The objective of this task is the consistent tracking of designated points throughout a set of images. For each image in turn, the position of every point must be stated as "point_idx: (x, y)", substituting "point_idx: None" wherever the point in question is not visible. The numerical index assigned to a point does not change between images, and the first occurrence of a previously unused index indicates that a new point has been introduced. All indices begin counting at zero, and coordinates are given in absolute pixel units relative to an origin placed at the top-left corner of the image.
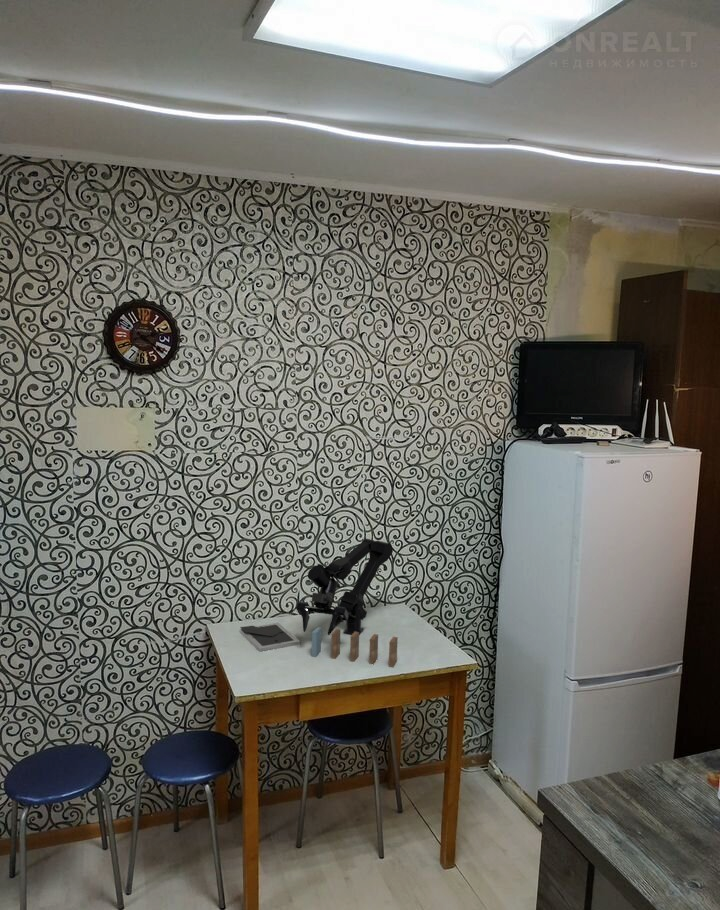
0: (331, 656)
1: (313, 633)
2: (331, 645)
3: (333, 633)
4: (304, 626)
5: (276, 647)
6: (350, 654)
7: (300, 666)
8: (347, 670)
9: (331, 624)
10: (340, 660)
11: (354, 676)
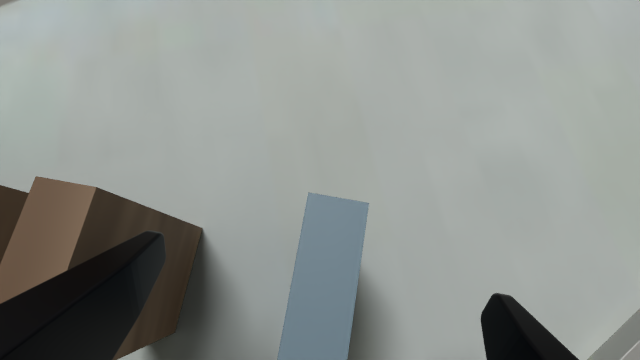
0: (195, 227)
1: (347, 203)
2: (163, 214)
3: (68, 203)
4: (531, 334)
5: (632, 327)
6: (28, 193)
7: (375, 84)
8: (90, 72)
9: (18, 316)
10: None
11: (51, 9)
